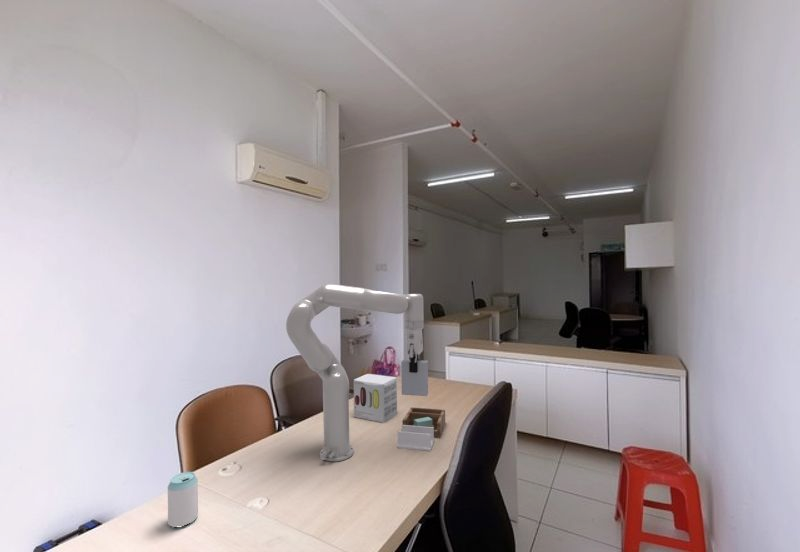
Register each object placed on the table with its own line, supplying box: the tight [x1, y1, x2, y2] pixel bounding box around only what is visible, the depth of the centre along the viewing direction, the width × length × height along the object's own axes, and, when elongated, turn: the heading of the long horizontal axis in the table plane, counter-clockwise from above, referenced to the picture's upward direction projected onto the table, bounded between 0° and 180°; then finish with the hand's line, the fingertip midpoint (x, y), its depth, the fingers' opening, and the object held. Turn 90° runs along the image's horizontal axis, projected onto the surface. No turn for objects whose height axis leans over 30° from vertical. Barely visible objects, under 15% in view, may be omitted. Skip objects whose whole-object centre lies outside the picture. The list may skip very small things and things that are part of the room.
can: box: [167, 471, 199, 528], centre depth 99 cm, size 7×7×12 cm
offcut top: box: [414, 417, 433, 427], centre depth 153 cm, size 3×7×3 cm, turn 115°
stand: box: [396, 424, 435, 452], centre depth 143 cm, size 9×13×6 cm
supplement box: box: [353, 373, 398, 424], centre depth 175 cm, size 17×13×18 cm
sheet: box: [400, 359, 429, 397], centre depth 144 cm, size 4×10×13 cm, turn 76°
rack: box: [401, 407, 446, 439], centre depth 158 cm, size 16×16×6 cm
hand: (414, 370), depth 144 cm, fingers closed on sheet, 3 cm apart
